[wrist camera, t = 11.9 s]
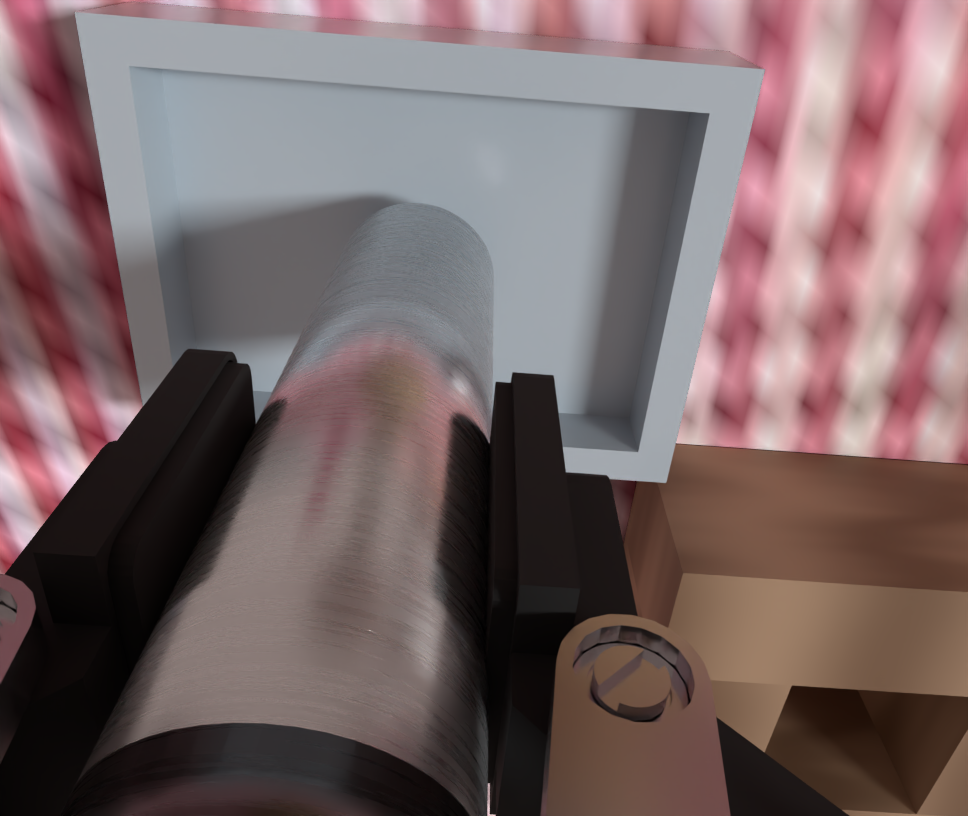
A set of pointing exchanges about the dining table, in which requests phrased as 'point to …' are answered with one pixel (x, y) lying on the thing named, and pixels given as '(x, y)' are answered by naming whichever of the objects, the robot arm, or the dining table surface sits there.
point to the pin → (336, 567)
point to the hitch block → (821, 613)
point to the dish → (424, 193)
